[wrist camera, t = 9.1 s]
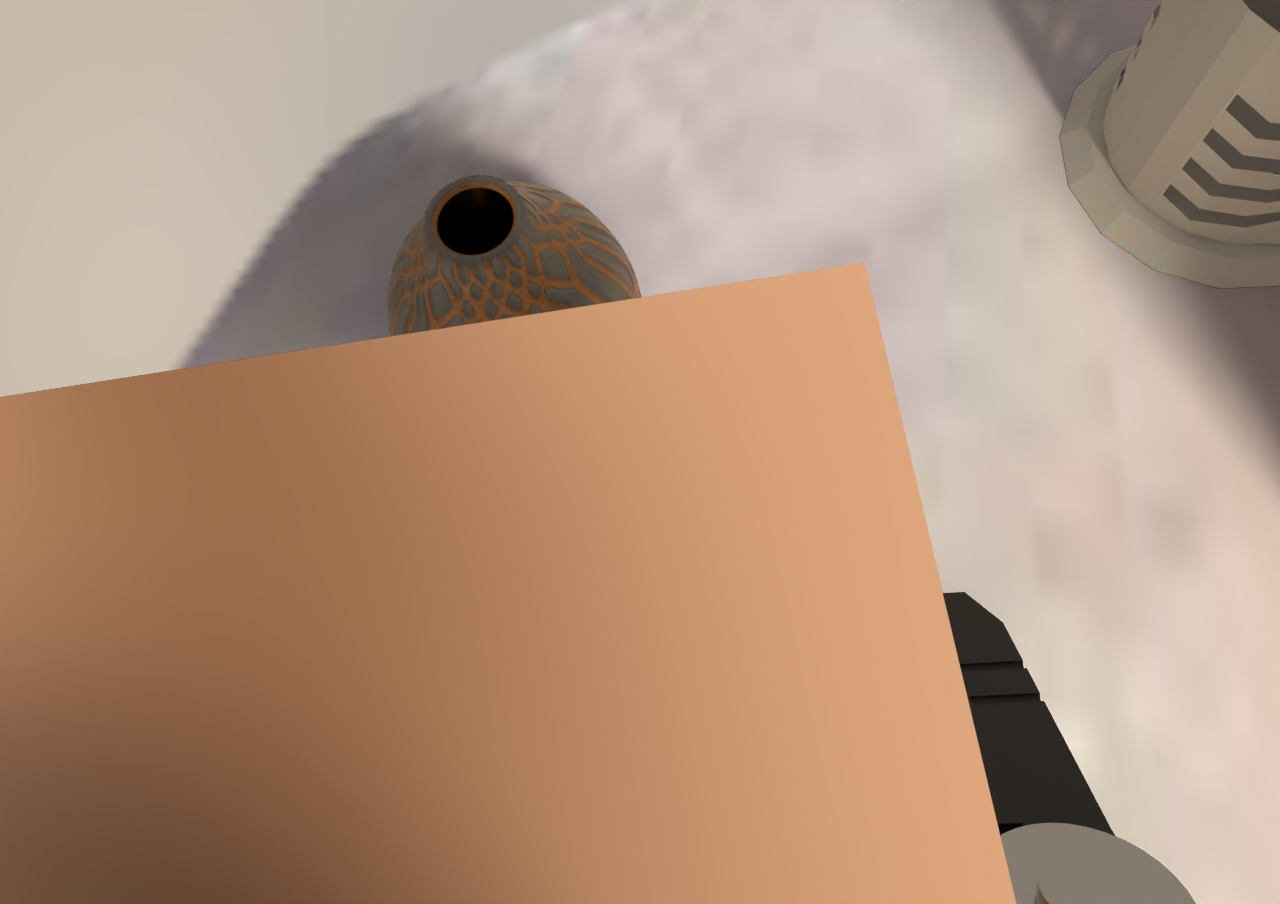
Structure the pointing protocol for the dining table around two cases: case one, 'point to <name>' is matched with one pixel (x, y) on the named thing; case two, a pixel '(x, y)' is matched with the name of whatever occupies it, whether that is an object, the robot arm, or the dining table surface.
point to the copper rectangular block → (490, 622)
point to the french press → (1186, 143)
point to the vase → (503, 257)
